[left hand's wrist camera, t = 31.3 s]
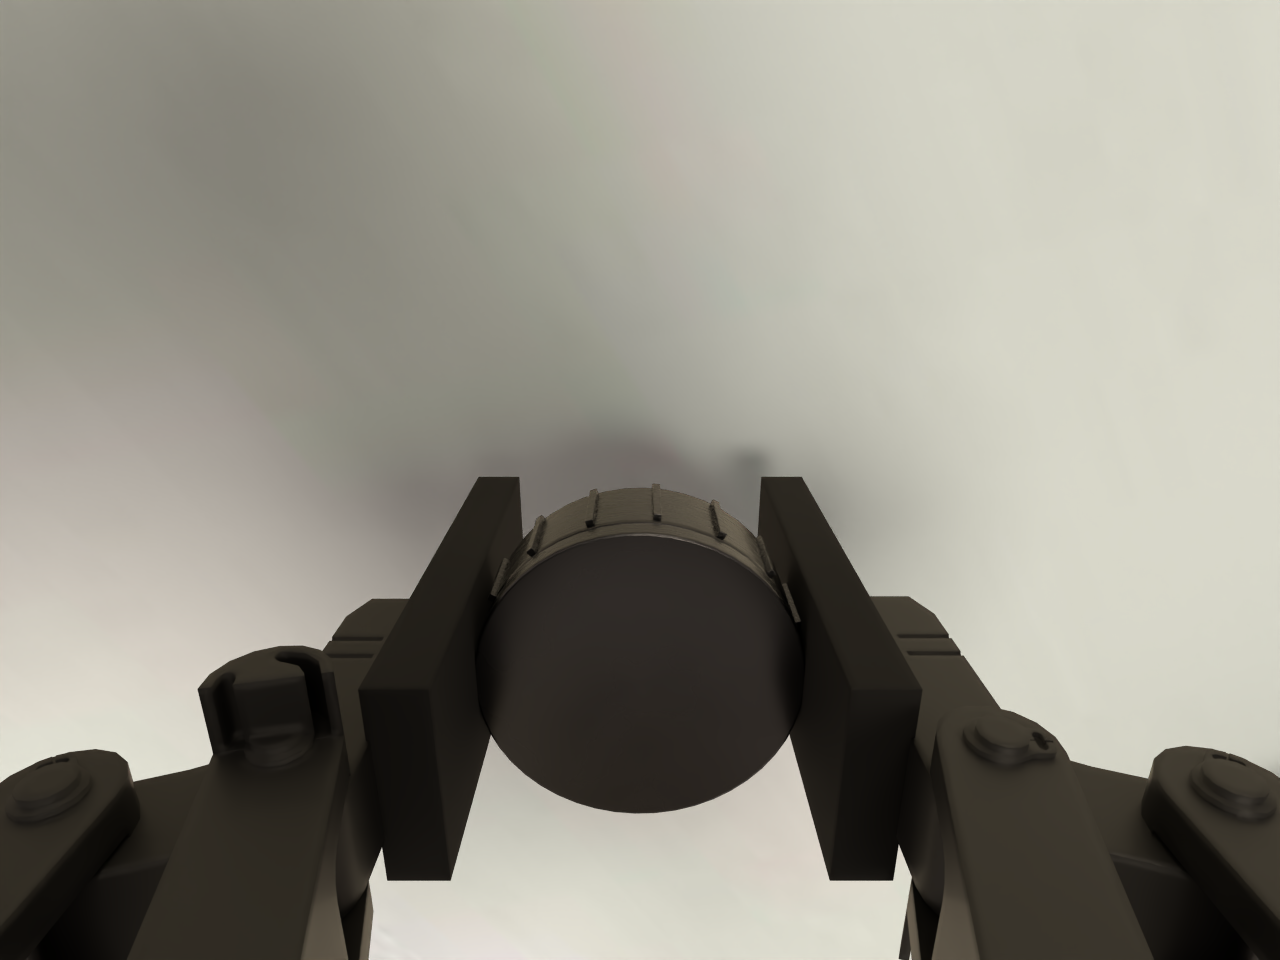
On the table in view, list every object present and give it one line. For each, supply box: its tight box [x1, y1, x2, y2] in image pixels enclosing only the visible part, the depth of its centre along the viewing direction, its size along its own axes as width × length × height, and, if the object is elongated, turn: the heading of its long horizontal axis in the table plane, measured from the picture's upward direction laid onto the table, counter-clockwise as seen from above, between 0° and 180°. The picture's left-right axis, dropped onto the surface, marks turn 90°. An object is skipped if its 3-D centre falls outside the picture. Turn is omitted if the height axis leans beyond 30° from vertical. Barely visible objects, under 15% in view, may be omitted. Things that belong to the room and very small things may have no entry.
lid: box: [475, 484, 805, 813], centre depth 11 cm, size 5×5×2 cm
